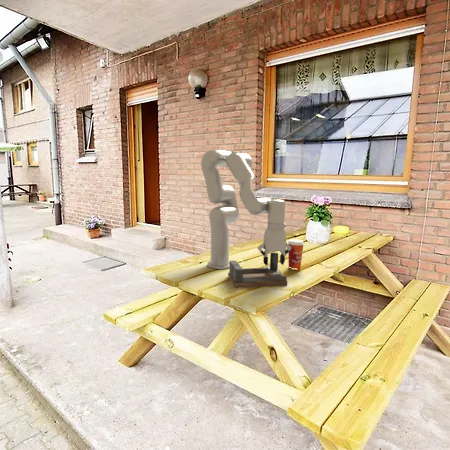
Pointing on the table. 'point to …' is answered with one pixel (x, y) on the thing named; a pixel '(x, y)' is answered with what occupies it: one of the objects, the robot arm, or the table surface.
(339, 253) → the table surface
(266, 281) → the base
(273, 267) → the press carriage
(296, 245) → the coffee cup
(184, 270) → the table surface
